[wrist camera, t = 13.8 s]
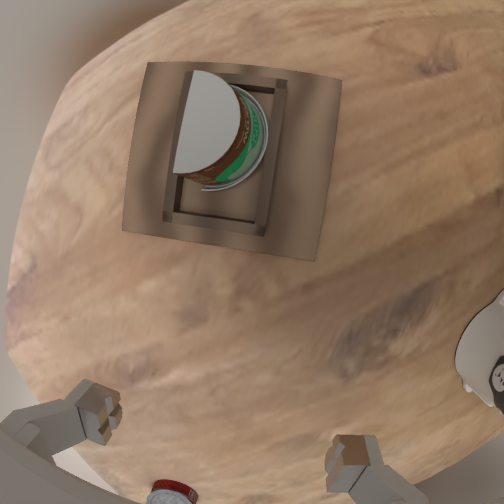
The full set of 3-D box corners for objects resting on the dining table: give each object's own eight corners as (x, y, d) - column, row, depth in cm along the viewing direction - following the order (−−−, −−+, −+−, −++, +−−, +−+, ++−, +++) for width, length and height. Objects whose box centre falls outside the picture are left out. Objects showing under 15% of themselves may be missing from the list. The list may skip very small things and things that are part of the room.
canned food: (158, 472, 54) (130, 487, 45) (191, 470, 51) (163, 489, 42) (178, 509, 50) (153, 527, 41) (212, 509, 48) (188, 531, 38)
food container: (267, 59, 21) (279, 94, 31) (197, 55, 22) (226, 88, 32) (240, 202, 24) (259, 199, 34) (169, 190, 25) (207, 190, 35)
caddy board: (340, 82, 32) (346, 73, 28) (313, 259, 36) (317, 267, 33) (150, 65, 32) (140, 55, 29) (125, 229, 37) (112, 233, 34)
